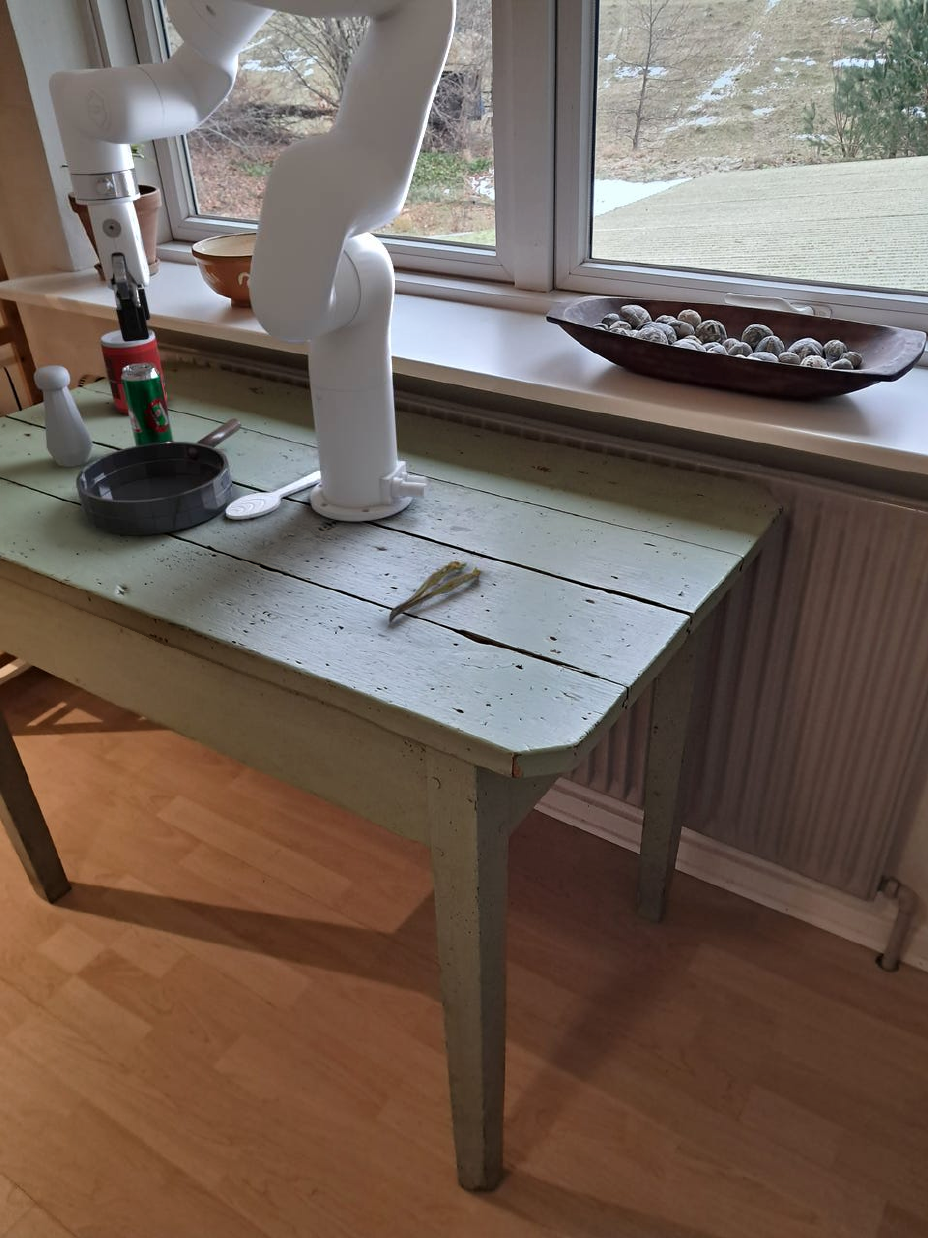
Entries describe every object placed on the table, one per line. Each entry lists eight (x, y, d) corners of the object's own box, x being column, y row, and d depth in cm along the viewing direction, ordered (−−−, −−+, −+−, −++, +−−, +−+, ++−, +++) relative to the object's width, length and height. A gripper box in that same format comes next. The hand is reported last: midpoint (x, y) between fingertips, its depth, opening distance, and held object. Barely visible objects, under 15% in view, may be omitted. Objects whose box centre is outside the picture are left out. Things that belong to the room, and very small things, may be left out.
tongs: (380, 619, 96) (379, 602, 95) (455, 570, 105) (455, 554, 104) (413, 632, 94) (413, 614, 93) (487, 581, 103) (487, 564, 102)
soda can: (137, 447, 136) (118, 364, 129) (174, 442, 137) (157, 359, 130) (138, 461, 132) (119, 375, 125) (176, 456, 133) (159, 371, 126)
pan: (259, 482, 125) (254, 450, 122) (181, 546, 111) (174, 510, 108) (142, 466, 130) (135, 435, 128) (53, 525, 116) (43, 491, 113)
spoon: (352, 474, 126) (352, 470, 126) (243, 524, 115) (242, 520, 114) (324, 464, 129) (324, 460, 129) (215, 511, 118) (214, 507, 117)
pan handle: (244, 429, 134) (242, 417, 133) (197, 462, 125) (195, 449, 124) (232, 428, 135) (230, 415, 134) (186, 460, 126) (183, 447, 125)
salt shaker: (103, 453, 134) (80, 361, 127) (85, 469, 130) (61, 375, 123) (63, 452, 135) (38, 360, 128) (44, 469, 130) (17, 375, 123)
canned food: (178, 402, 151) (165, 331, 145) (139, 418, 145) (123, 346, 139) (144, 394, 154) (130, 325, 148) (105, 409, 149) (88, 338, 143)
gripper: (136, 194, 109) (167, 344, 119) (139, 175, 124) (167, 310, 133) (67, 200, 108) (104, 351, 117) (78, 180, 122) (110, 316, 131)
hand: (137, 329), depth 125 cm, fingers open, 9 cm apart
